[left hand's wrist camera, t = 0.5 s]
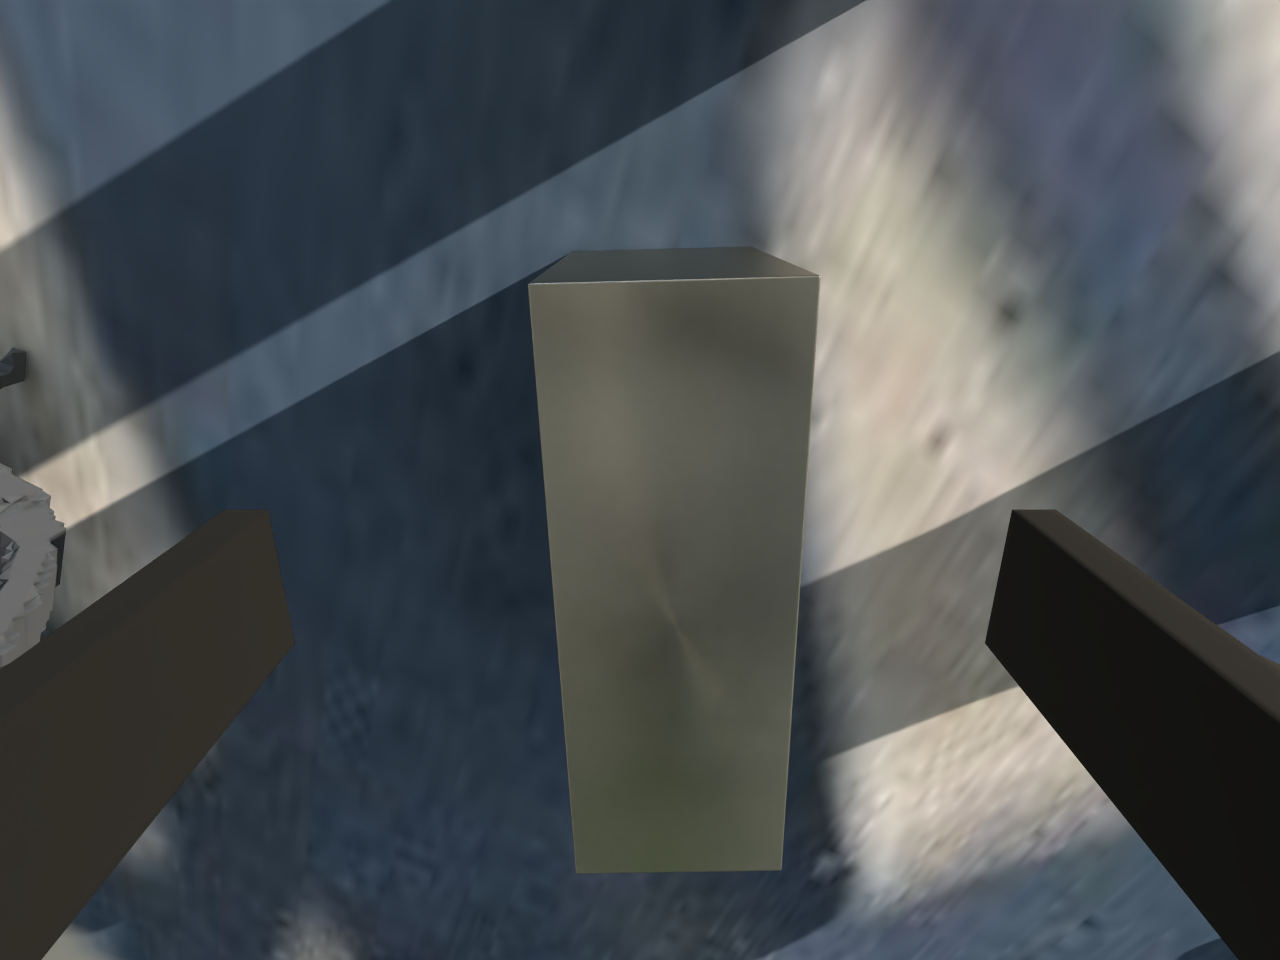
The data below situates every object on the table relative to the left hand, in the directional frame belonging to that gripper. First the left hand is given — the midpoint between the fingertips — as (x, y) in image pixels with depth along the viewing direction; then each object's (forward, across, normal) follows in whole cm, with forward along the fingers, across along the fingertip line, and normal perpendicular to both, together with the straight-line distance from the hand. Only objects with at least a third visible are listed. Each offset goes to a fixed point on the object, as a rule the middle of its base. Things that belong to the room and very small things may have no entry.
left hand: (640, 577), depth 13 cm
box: (+22, +1, -7) cm, 23 cm away
